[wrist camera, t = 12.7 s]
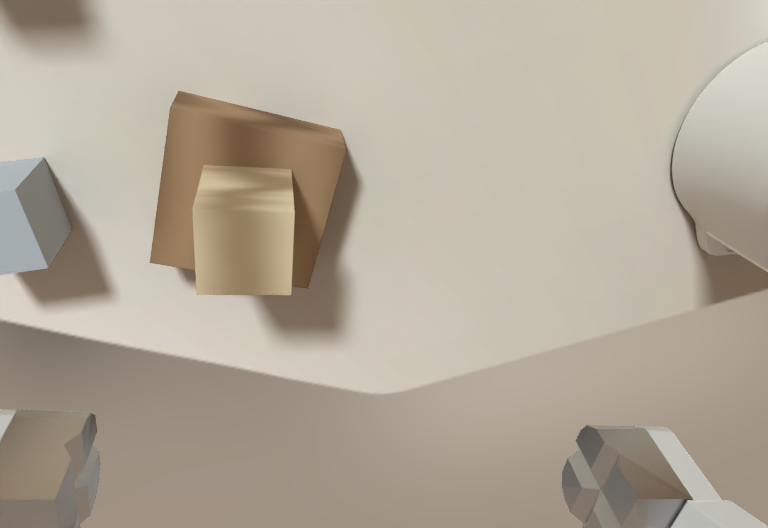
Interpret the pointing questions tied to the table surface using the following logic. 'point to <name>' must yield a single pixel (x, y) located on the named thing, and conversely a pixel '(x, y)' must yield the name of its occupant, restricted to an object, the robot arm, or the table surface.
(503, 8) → the table surface
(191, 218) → the walnut block
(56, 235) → the slate cube
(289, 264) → the oak block
